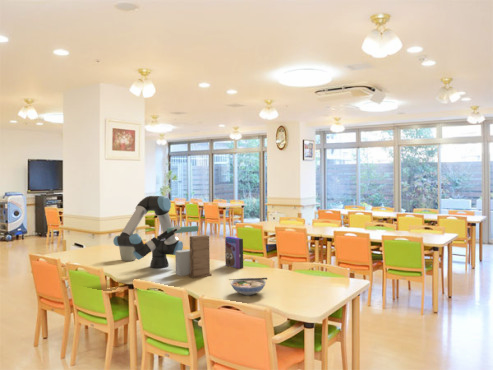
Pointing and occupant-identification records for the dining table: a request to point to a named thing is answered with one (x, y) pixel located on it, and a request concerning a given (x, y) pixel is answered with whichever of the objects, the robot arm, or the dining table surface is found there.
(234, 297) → the dining table surface
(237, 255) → the cereal box
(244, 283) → the ramen bowl
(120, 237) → the robot arm
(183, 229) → the mint green bar
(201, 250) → the pedestal
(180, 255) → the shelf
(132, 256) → the canister
